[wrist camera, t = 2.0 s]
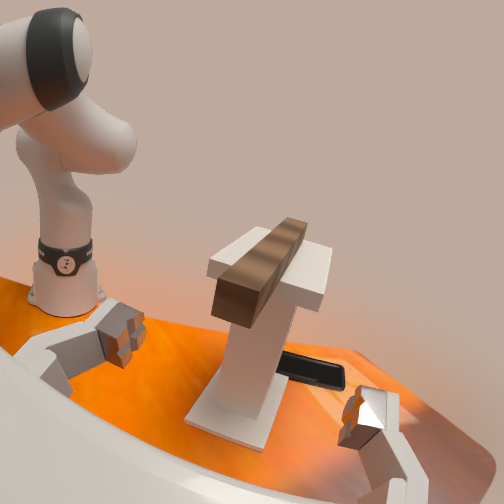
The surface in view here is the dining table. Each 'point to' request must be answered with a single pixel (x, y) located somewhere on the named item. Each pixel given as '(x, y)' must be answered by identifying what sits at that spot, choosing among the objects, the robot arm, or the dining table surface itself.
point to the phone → (311, 371)
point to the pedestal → (258, 347)
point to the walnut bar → (257, 274)
